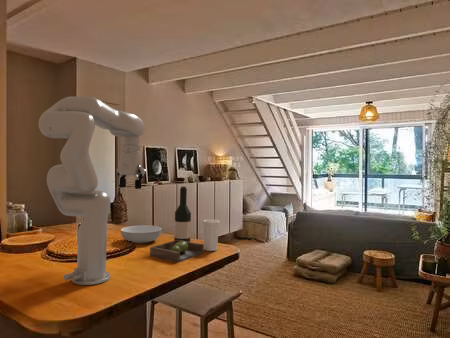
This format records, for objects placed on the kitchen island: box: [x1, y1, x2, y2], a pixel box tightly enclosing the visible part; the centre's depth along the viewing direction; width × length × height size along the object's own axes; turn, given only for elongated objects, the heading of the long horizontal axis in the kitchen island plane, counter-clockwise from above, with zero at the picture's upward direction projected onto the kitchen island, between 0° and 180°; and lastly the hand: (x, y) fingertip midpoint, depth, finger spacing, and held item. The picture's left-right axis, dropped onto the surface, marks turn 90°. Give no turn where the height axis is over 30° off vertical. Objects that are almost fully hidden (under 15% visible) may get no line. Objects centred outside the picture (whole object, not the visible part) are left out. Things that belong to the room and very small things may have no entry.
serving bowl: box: [120, 224, 162, 244], centre depth 176 cm, size 21×21×7 cm
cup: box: [202, 219, 221, 252], centre depth 163 cm, size 8×8×14 cm
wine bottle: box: [173, 186, 192, 242], centre depth 170 cm, size 8×8×30 cm
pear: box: [171, 241, 188, 253], centre depth 151 cm, size 6×5×10 cm
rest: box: [149, 240, 205, 263], centre depth 153 cm, size 19×16×4 cm
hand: (130, 188), depth 148 cm, fingers open, 9 cm apart
